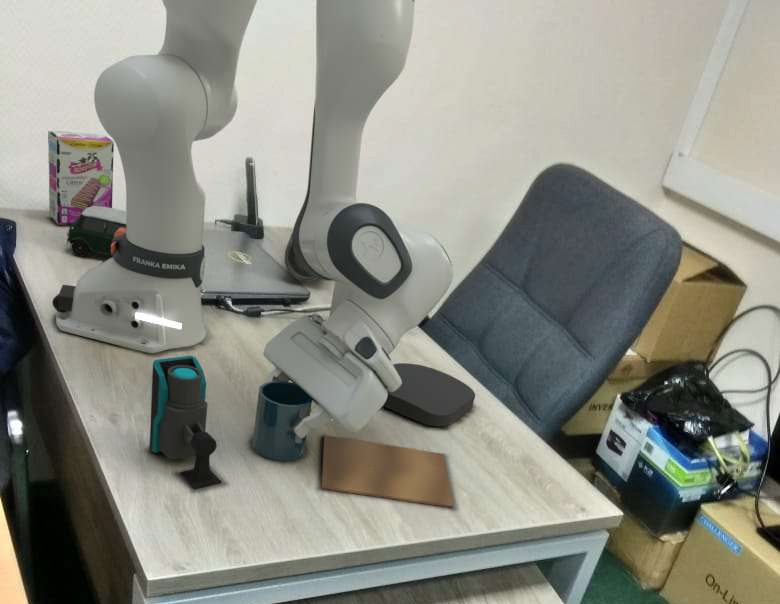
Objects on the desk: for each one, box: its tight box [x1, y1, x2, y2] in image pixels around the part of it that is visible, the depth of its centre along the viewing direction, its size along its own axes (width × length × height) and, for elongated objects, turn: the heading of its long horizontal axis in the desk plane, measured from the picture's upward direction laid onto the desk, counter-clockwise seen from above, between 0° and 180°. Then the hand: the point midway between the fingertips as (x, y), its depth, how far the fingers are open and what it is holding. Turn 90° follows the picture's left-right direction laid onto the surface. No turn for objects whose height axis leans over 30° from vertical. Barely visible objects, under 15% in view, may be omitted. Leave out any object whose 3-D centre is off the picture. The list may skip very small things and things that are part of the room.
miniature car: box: [65, 206, 126, 257], centre depth 149 cm, size 9×18×8 cm, turn 89°
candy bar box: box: [47, 130, 115, 226], centre depth 158 cm, size 11×5×16 cm, turn 130°
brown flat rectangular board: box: [321, 434, 454, 509], centre depth 107 cm, size 17×13×1 cm
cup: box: [252, 381, 313, 462], centre depth 104 cm, size 7×7×8 cm
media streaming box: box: [382, 362, 476, 427], centre depth 126 cm, size 15×15×3 cm
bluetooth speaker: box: [284, 232, 318, 282], centre depth 165 cm, size 23×9×10 cm, turn 178°
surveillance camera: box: [149, 355, 222, 490], centre depth 95 cm, size 6×12×10 cm
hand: (278, 417), depth 104 cm, fingers closed on cup, 7 cm apart
